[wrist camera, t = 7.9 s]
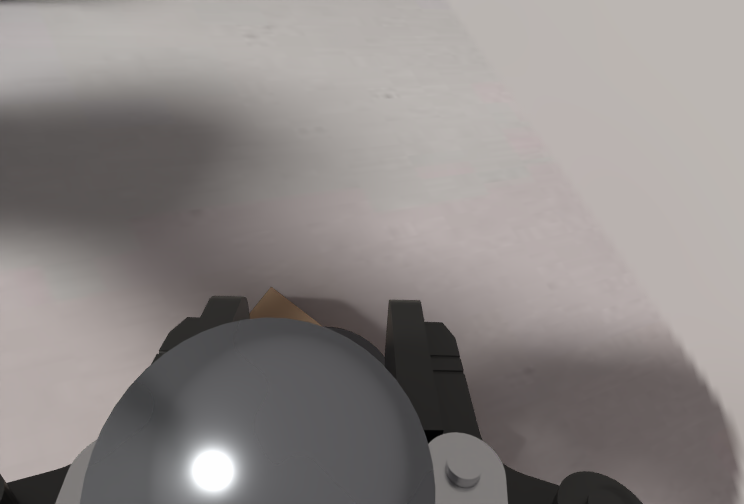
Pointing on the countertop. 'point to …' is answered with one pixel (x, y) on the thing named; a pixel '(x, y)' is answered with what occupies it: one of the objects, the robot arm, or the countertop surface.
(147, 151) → the countertop surface
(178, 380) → the grey cylindrical peg
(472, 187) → the countertop surface
